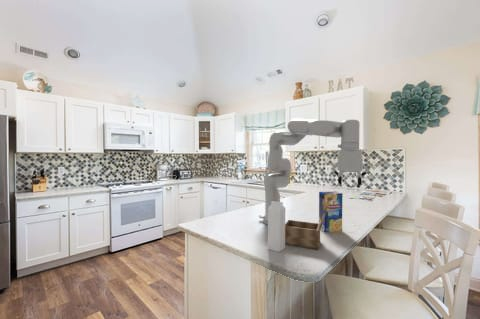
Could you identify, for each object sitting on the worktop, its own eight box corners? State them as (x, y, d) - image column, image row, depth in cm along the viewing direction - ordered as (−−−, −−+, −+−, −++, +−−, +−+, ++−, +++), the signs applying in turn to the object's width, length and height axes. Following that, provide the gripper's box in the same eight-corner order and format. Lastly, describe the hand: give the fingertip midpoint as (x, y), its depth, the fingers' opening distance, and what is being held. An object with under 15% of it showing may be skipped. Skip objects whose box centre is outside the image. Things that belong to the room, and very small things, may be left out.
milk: (273, 245, 111) (274, 199, 110) (285, 248, 107) (285, 201, 107) (267, 249, 106) (267, 201, 106) (279, 252, 102) (279, 203, 102)
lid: (328, 197, 103) (332, 198, 102) (329, 193, 114) (333, 194, 113) (318, 230, 104) (322, 231, 104) (320, 222, 116) (324, 224, 115)
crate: (283, 244, 111) (283, 226, 111) (288, 236, 122) (288, 219, 122) (318, 250, 105) (318, 230, 105) (320, 241, 116) (320, 223, 116)
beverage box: (342, 231, 132) (342, 193, 131) (324, 232, 130) (324, 193, 130) (335, 227, 139) (335, 191, 138) (318, 228, 137) (318, 191, 137)
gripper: (329, 147, 105) (328, 185, 105) (372, 146, 98) (372, 188, 98) (330, 147, 111) (329, 184, 112) (370, 147, 104) (370, 186, 105)
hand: (349, 185), depth 105 cm, fingers open, 6 cm apart
